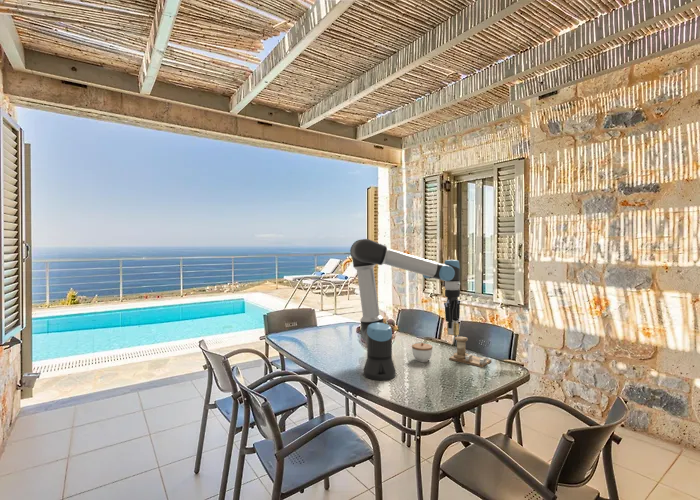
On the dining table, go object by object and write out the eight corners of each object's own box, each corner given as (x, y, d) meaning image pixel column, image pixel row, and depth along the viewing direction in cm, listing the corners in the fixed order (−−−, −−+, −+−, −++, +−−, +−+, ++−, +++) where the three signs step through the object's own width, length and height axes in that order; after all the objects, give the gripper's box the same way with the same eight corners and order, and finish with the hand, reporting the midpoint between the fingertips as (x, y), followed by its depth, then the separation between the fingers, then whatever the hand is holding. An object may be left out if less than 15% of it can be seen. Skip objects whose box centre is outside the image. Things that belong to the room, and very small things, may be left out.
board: (482, 367, 178) (482, 360, 178) (449, 359, 191) (449, 353, 191) (491, 361, 187) (491, 354, 187) (459, 354, 199) (459, 348, 199)
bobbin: (464, 359, 187) (465, 340, 187) (450, 356, 192) (450, 338, 192) (471, 356, 192) (471, 337, 192) (457, 353, 198) (457, 335, 198)
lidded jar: (432, 364, 183) (432, 345, 183) (411, 362, 185) (411, 344, 185) (432, 357, 194) (432, 340, 194) (412, 356, 196) (412, 339, 196)
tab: (456, 335, 183) (455, 324, 183) (447, 334, 187) (447, 323, 187) (459, 334, 185) (458, 323, 186) (450, 333, 189) (450, 322, 189)
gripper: (451, 291, 178) (451, 337, 178) (466, 288, 189) (466, 332, 189) (437, 289, 183) (438, 335, 183) (453, 287, 195) (453, 330, 195)
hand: (452, 333), depth 186 cm, fingers closed on tab, 3 cm apart
